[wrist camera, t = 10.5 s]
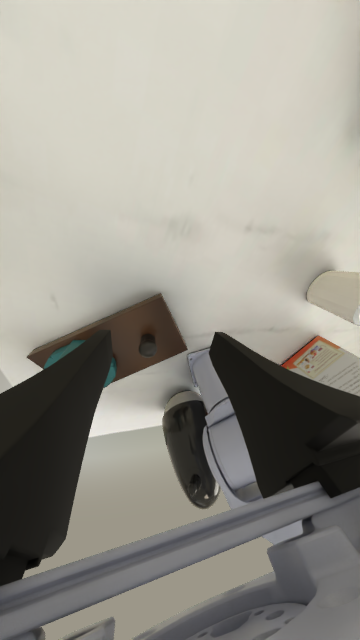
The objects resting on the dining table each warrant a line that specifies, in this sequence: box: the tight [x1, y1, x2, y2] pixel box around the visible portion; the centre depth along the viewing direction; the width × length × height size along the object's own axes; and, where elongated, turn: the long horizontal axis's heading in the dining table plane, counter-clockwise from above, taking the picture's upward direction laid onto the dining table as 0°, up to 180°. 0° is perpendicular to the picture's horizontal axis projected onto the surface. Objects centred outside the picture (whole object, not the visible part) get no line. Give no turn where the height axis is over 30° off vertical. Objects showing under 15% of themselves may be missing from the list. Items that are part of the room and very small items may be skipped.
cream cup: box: [307, 271, 360, 326], centre depth 21 cm, size 7×7×7 cm
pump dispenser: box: [162, 391, 221, 509], centre depth 25 cm, size 10×10×15 cm
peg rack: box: [27, 293, 188, 383], centre depth 18 cm, size 19×10×7 cm, turn 111°
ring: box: [44, 340, 117, 388], centre depth 18 cm, size 9×8×6 cm
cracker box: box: [282, 336, 360, 396], centre depth 24 cm, size 14×6×21 cm, turn 142°
